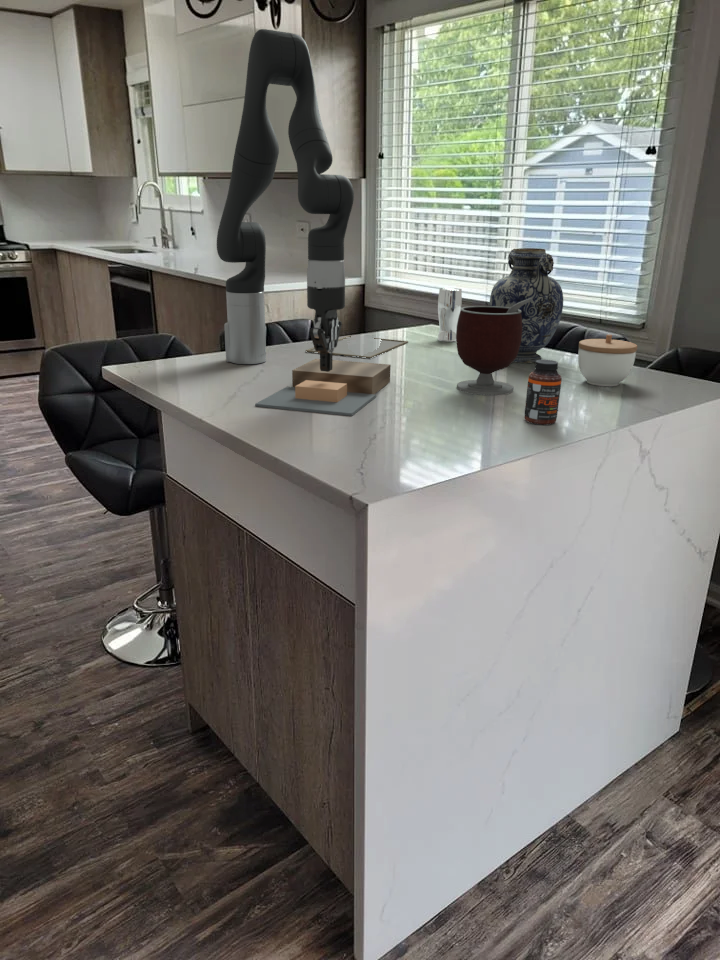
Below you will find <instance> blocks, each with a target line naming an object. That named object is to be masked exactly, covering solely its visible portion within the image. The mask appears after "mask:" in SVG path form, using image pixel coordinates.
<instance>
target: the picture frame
mask: <svg viewBox="0 0 720 960" xmlns="http://www.w3.org/2000/svg"><path fill="white" fill-rule="evenodd" d="M351 336H352V335H346V336H344V337H341V338H340V337H339V339H338V343H337V347H334V352H332V356H336V355H344V356H343V357H346V356H359V357H366V358H372V357H374V356H376V357H378V356H377V355H379V356H381V355H383V354H385V352H386V353H388V352H391V351H392V349H393V350H395V349H397V348H400V347H401V346H404V345H407V344H409V341H408V340H402V339H401V340H399V339H391V338H377V337H373V338H374V339H381V340H382V341H380V342H381V343H380V346H379V348H377V350H376V349H375V350H374V351H373V352H368V353H367V354H364V355H363V356H361V355H356V354H355V353H354V352H352V351H351V350H349V349H348V344H347V343H350V342H347V341H350V340H343V339H350V338H351ZM346 337H350V338H346ZM306 351H307V352H318V351H315V348H314V346H313V347H311V348H307V349H305V352H306ZM318 353H319V352H318ZM382 353H383V354H382ZM380 354H381V355H380ZM374 358H375V357H374ZM372 359H373V358H372Z"/></svg>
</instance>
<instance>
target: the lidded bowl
mask: <svg viewBox="0 0 720 960" xmlns="http://www.w3.org/2000/svg"><path fill="white" fill-rule="evenodd" d="M612 338H613V334H606V335H605V338H587V339H582V340H580V341H579V342H578V354H577V356H578V357H577V358H578V360H577V361H578V363H577V364H578V368H579V370H580V371H579V372H580V373H581V375H582V377H583V378H584V379H585V380H586V383H587V384H588V385H593V386H598V387H599V386H600V387H616V386H617V387H618V386H619V385H620V383H621V382H623V381H624V380H626V378H628V376H630V374H631V372H632V370H633V367H634V363H635V361H636V355H637V352H638V345H637V344H636V343H633V342H630V341H625V340H621V339H620V340H619V339H614V338H613V339H612Z"/></svg>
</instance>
